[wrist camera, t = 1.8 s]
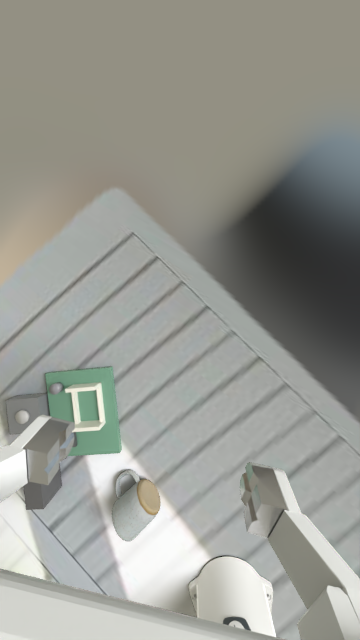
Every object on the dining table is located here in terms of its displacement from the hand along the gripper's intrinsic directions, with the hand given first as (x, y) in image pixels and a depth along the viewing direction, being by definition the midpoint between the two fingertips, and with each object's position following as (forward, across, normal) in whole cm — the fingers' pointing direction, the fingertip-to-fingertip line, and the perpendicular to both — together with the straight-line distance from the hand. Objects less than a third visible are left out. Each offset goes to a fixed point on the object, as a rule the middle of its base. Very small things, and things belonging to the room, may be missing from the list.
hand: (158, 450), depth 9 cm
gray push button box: (+30, -32, -34) cm, 56 cm away
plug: (+26, -24, -48) cm, 59 cm away
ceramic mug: (+26, -3, -46) cm, 52 cm away
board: (+30, -19, -31) cm, 48 cm away
